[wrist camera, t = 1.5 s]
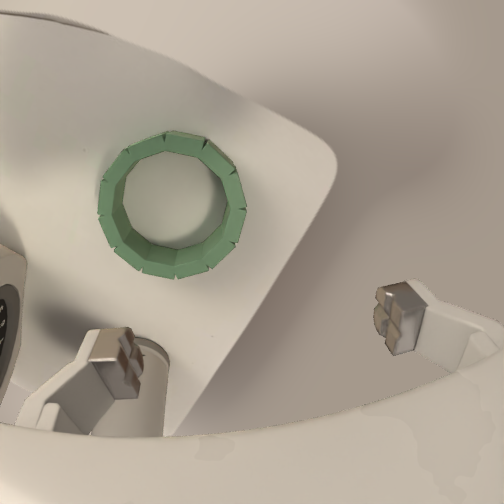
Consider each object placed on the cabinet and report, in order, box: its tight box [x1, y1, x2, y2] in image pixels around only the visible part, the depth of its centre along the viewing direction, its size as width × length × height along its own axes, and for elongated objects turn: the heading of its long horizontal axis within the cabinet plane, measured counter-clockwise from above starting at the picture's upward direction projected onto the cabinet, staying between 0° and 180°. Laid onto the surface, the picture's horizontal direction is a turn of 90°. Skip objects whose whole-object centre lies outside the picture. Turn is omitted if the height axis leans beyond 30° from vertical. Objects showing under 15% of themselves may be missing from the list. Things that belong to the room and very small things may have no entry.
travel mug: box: [91, 338, 170, 437], centre depth 22 cm, size 6×7×20 cm
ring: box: [97, 131, 247, 279], centre depth 23 cm, size 11×11×3 cm
